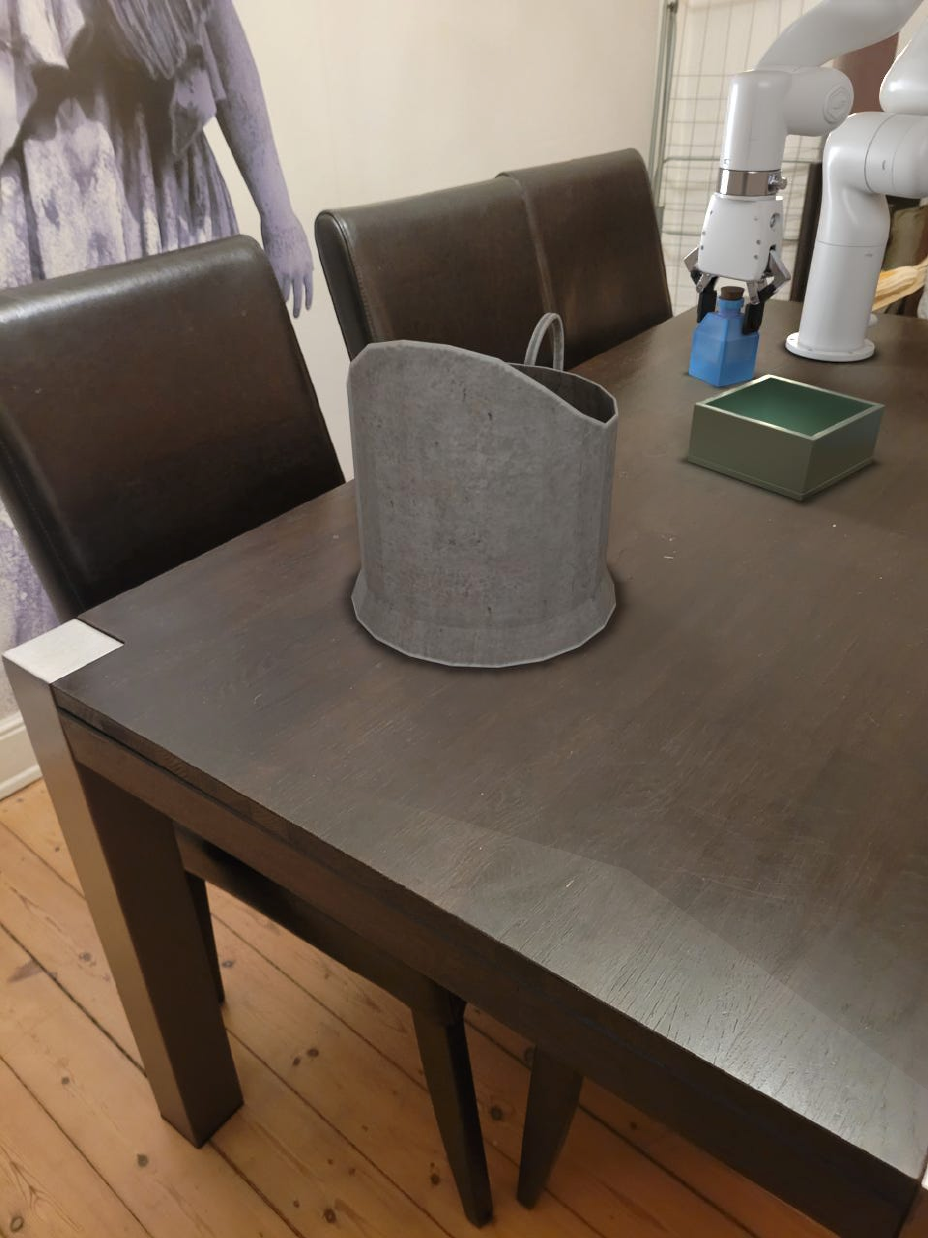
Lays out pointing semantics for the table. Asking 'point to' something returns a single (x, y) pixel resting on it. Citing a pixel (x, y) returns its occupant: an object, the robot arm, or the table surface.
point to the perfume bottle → (724, 343)
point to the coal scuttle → (480, 502)
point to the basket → (784, 435)
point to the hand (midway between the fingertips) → (727, 325)
